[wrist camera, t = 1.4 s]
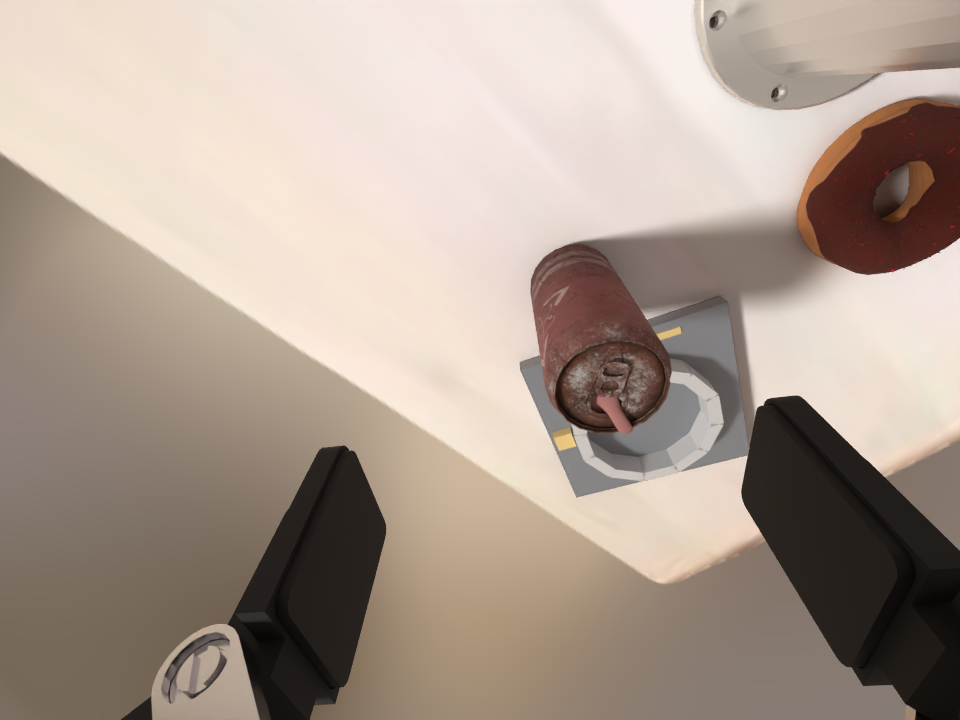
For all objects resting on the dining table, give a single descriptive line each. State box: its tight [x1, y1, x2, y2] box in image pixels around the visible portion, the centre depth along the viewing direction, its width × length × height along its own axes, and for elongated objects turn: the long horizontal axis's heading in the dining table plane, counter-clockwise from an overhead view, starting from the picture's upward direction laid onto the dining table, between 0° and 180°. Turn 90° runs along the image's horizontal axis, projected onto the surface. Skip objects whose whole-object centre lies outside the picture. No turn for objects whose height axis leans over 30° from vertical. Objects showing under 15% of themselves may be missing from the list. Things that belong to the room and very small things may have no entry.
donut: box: [796, 99, 960, 275], centre depth 27 cm, size 10×10×4 cm
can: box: [531, 245, 672, 434], centre depth 26 cm, size 6×6×14 cm
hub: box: [520, 296, 749, 497], centre depth 37 cm, size 16×16×3 cm
